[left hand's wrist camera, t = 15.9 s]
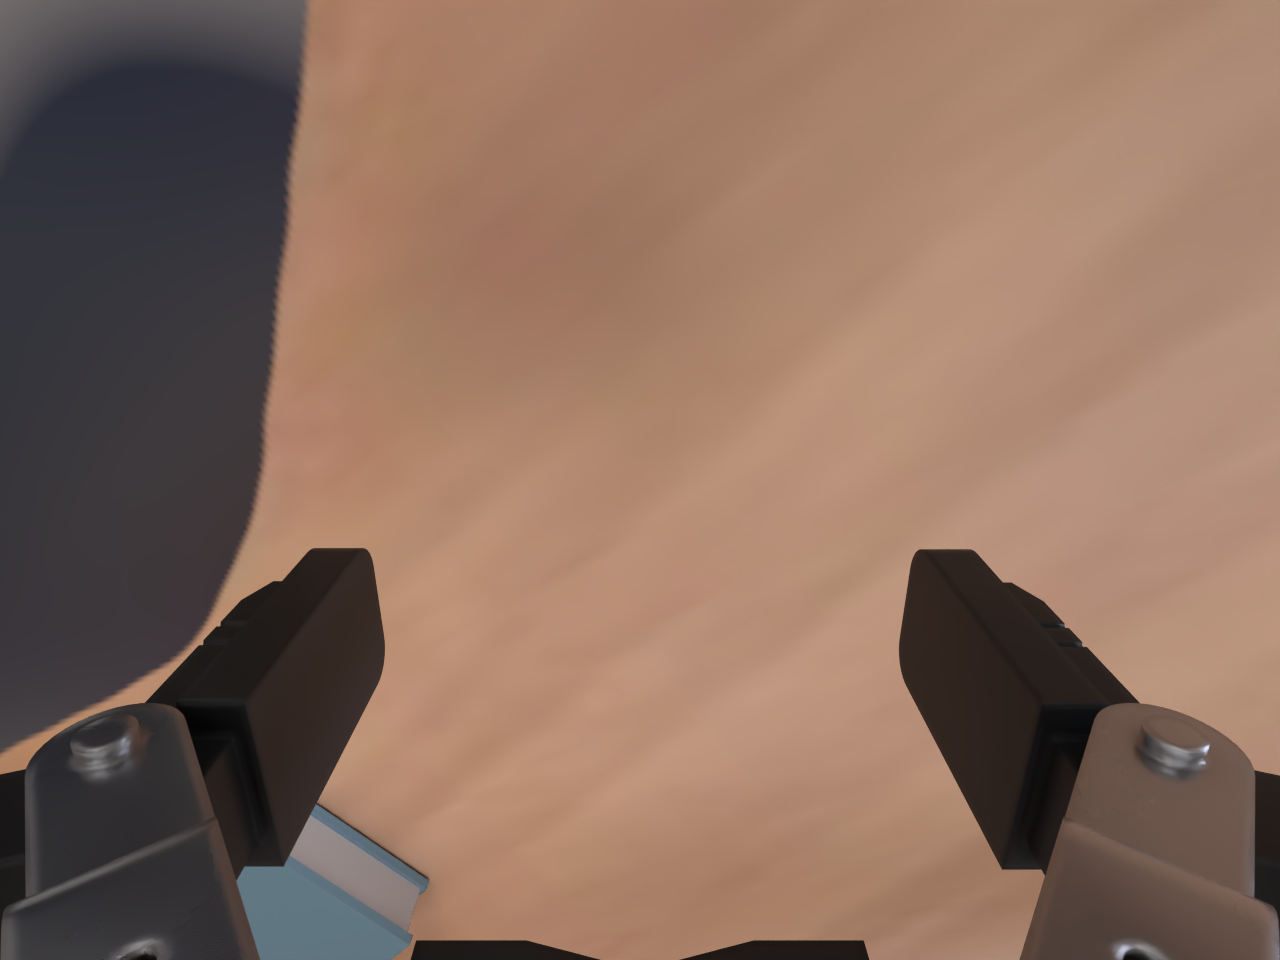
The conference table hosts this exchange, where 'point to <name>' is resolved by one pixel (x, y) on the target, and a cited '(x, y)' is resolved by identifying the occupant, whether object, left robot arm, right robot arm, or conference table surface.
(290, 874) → the book
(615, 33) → the conference table surface
